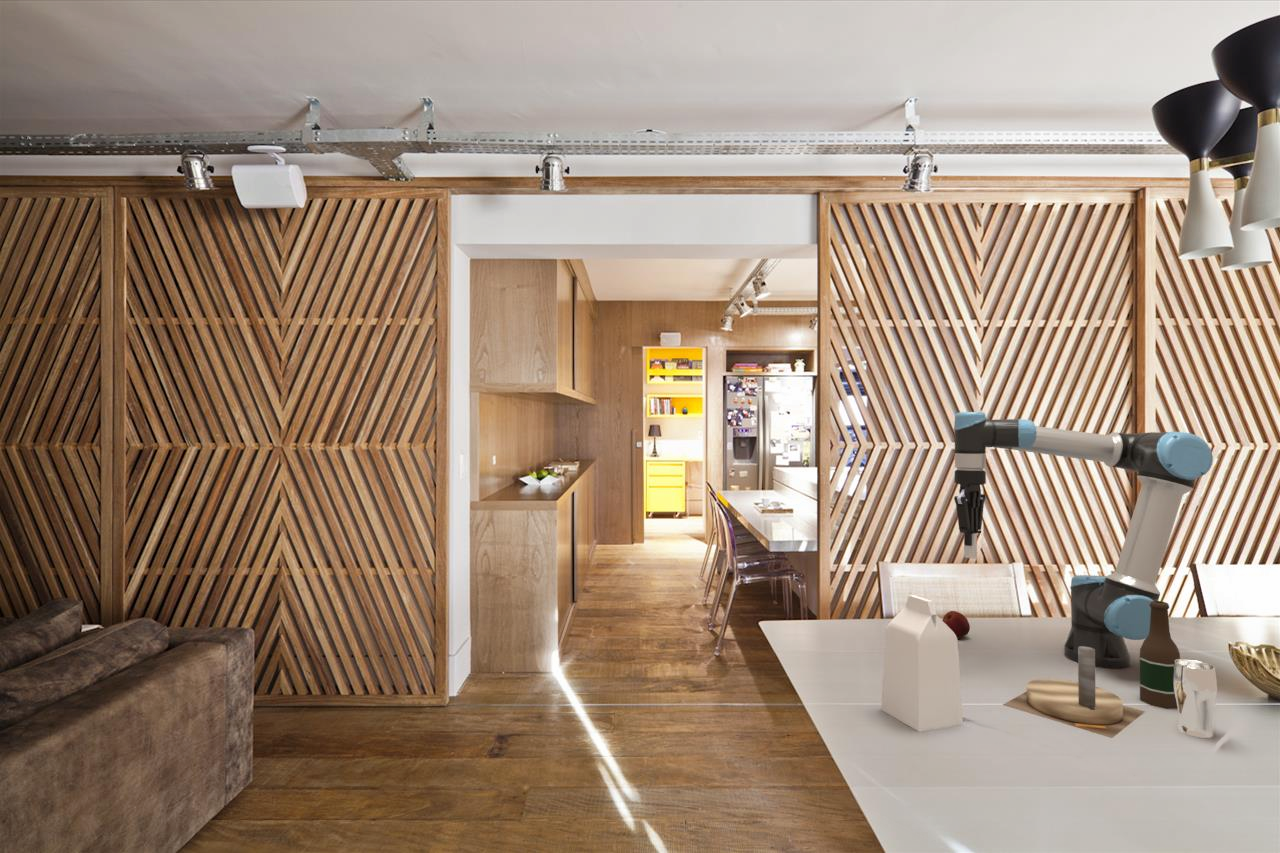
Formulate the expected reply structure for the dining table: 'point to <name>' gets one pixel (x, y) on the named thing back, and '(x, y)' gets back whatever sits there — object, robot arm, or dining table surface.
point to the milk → (921, 669)
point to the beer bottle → (1158, 660)
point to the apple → (957, 623)
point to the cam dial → (1076, 695)
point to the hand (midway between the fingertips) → (970, 557)
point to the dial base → (1101, 729)
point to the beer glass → (1195, 696)
